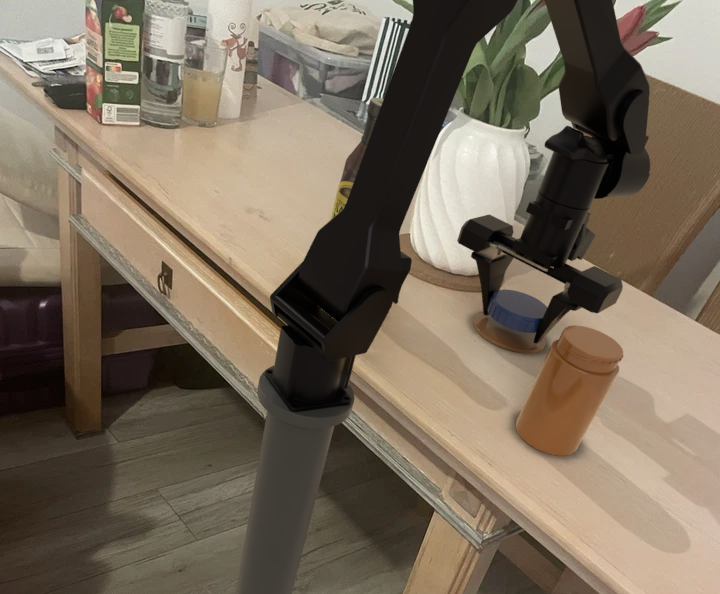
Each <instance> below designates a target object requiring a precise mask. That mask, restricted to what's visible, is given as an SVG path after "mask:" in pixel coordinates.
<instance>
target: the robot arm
mask: <svg viewBox="0 0 720 594" xmlns="http://www.w3.org/2000/svg"><path fill="white" fill-rule="evenodd" d="M518 1H519V0H412V18H411V22H410V25H409V27H408V31H407V33H406V36H405V39H404V42H403V45H402V46H401V50H400V53H399V55H398V58H397V61H396V64H395V67H394V69H393V72H392V75H391V77H390V80H389V84H388V86H387V88H386V91H385V93H384V97H383V99H384V100H383V102H382V105H381V108H380V111H379V114H378V116H377V119H376V122H375V125H374V127H373V130H372V133H371V136H370V139H369V141H368V144H367V147H366V150H365V153H364V155H363V158H362V161H361V164H360V166H359V169H358V172H357V175H356V178H355V180H354V183H353V186H352V189H351V191H350V194H349V197H348V200H347V202H346V205H345V207H344V209H343V210H342V211H340V212H339V213H338V214H337V215H336V216H335V217H334V218H332V219H331V218H330V219H331V220H330V219H329V221H327V222H326V223H325V224H324V225H323V226H322V227H320V228H319V230H317V233H316V234H315V236H314V238H313V240H312V242H311V245H310V246H309V249H308V250H307V252H306V255H305V256H304V258H303V261H301V263H300V264H298V266H296V268H295V269H294V270H293V271H292V272H291V273H290V274H289V275H288V276H287V277H286V278H285V279H284V280H283V281H282V282H281V283H280V285H278V287H277V288H275V290H274V291H273V292H272V293H271V294H270V295H269V301H270V307H271V313H272V315H274V316H275V317H276V318H278V319H280V320H281V321H282V322H283V323H284V324H286V325H281V326H280V330H279V337H278V343H277V347H276V354H275V360H274V365H273V366H274V369H268V368H266V369H264V371H265V373H264V376H265V377H266V379H267V380H268V381H269V383H270V384H271V385H272V387H273V388H274V390H275V391H276V392H277V394H278V395H279V396H280V398H281V399H282V401H283V402H284V403H285V405H286V406H287V407H288V409H289V410H290V411H292V412H302V411H309V410H316V409H323V408H330V407H338V406H345V405H350V404H351V400H352V399H351V397H350V396H349V395H348V394H347V393H346V391H345V390H344V389H345V388H347V387H348V384H349V383H350V380H351V376H352V372H353V368H354V365H355V361H356V356H359V355H362V354H366V353H368V351H369V349H370V347H371V345H372V343H373V342H374V340H375V338H376V336H377V334H378V333H379V331H380V329H381V327H382V326H383V323H384V322H385V320H386V318H387V317H388V314H389V313H390V310H391V308H392V306H393V304H395V305H396V304H398V303H399V300H400V299H399V298H400V293H401V290H402V288H403V287H402V286H403V285H404V282H405V280H406V279H407V277H408V275H409V274H410V272H411V269H412V262H413V260H412V258H411V257H410V256H408V255H407V254H405V252H403V251H401V239H400V232H401V230H402V229H401V228H402V226H403V223H404V221H405V219H406V216H407V213H408V211H409V208H410V207H411V205H412V201H413V198H414V196H415V194H416V191H417V189H418V187H419V184H420V181H421V178H422V177H423V175H424V172H425V169H426V167H427V165H428V162H429V160H430V157H431V155H432V152H433V149H434V147H435V145H436V142H437V141H438V138H439V135H440V132H441V130H442V128H443V126H444V123H445V121H446V118H447V115H448V113H449V111H450V108H451V105H452V103H453V101H454V98H455V96H456V94H457V91H458V88H459V86H460V84H461V81H462V79H463V76H464V74H465V71H466V68H467V67H468V64H469V62H470V59H471V57H472V54H473V51H474V50H475V48H476V46H477V45H478V43H479V42H481V40H482V39H484V37H486V36H487V35H488V34H489V33H490V32H491V31H492V30H493V29H494V28H496V27H497V26H498V25H499V24H500V23H501V22H502V21H503V20H504V19H505V18H507V17H508V15H510V14H511V12H513V9H514V8H515V6H516V4H517V3H518ZM544 4H545V6H546V9H547V12H548V16H549V19H550V22H551V26H552V28H553V32H554V35H555V38H556V42H557V44H558V48H559V51H560V54H561V57H562V61H563V66H564V72H563V74H562V75H561V78H560V80H559V82H558V94H559V100H560V101H559V102H560V108H561V112H562V113H561V114H562V116H563V117H564V119H565V120H567V121H569V122H570V124H571V126H570V125H566V126H564V128H563V129H562V130H560V131H559V132H557V133H555V134H553V135H551V136H550V137H548V139H547V140H545V142H544V148H545V149H547V150H550V151H551V152H552V154H551V157H550V160H549V162H548V164H547V166H546V170H545V173H544V175H543V177H542V180H541V183H540V185H539V188H538V191H537V193H536V196H535V198H534V201H529V202H528V205H527V207H526V210H525V212H526V213H528V217H527V220H526V222H525V225H524V227H523V230H522V233H521V235H520V238H515V237H513V234H514V227H513V225H512V224H510V223H508V222H506V221H504V220H502V219H499V217H498V218H497V217H495V216H494V215H492V214H485V215H481V216H478V217H473V218H470V219H468V220H466V221H465V222H464V223H463V224H462V226H461V228H460V231H459V234H458V236H457V237H458V238H457V240H456V241H457V243H458V244H459V245H461V246H463V247H465V248H466V249H469V250H470V251H472V252H471V254H470V258H471V259H473V260H474V261H475V263H476V266H477V268H476V269H477V272H478V278H479V282H480V288H481V290H480V292H481V301H482V313H484V315H486V316H487V315H489V313H488V310H487V308H488V305H489V302H490V300H491V297H492V296H493V294H494V292H496V291H498V290H501V287H502V284H503V282H504V281H503V280H504V278H505V275H506V271H507V270H508V268H509V266H510V265H511V263H512V261H514V259H515V260H517V261H519V262H521V263H523V264H525V265H527V266H528V267H530V268H533V269H534V270H537V271H538V272H541V273H543V274H544V275H547V276H548V277H551V278H552V279H555V280H556V281H558V282H560V283H562V284H564V287H563V290H562V291H561V292H558V293H556V294H554V295H552V297H551V299H550V301H549V304H548V306H547V310H546V312H545V314H544V316H543V319H542V321H541V323H540V325H539V327H538V329H537V332H536V335H535V338H534V343H536V344H537V343H538V342H540V341H541V340H542V339H543V338H544V337H545V338H546V336H547V335H548V333H550V332H551V330H552V329H553V328H554V327H555V326H556V325H557V324H558V323H559V322H560V321H561V320H562V319H563V318H564V317H565V316H566V315H567V314H568V313H569V312H570V311H573V312H576V311H578V310H580V309H584V310H586V311H588V312H589V313H592V314H600V313H602V312H603V311H605V310H607V309H609V308H610V307H611V306H614V305H615V304H617V301H618V300H619V297H620V296H621V293H622V292H623V288H624V284H623V280H622V278H620V277H618V276H616V275H614V274H612V273H609V272H608V271H606V270H604V269H601V268H600V267H598V266H595V265H593V266H591V267H589V268H586V269H585V270H580V269H578V268H576V267H573V266H572V265H570V264H568V263H567V261H570V262H573V261H576V260H577V259H578V260H580V261H582V260H583V258H584V256H585V255H586V253H587V251H588V249H589V248H590V246H591V244H592V243H593V241H594V239H595V238H596V236H597V235H596V233H594V232H593V231H592V230H591V229H589V228H588V227H587V225H588V223H589V220H590V216H591V213H590V212H589V211H590V209H591V206H592V204H593V201H594V200H600V199H602V200H603V199H615V198H628V197H631V196H634V195H635V194H637V193H639V192H640V191H641V190H642V189H643V188H644V187H645V186H646V184H647V182H648V180H649V178H650V175H651V173H650V170H651V159H650V155H649V152H648V151H647V149H646V148H645V147H646V145H647V143H648V140H649V138H650V137H649V135H647V128H648V116H649V105H650V82H649V80H648V78H647V75H646V73H645V71H644V69H643V67H642V64H641V63H640V62H639V61H638V60H637V59H636V58H635V56H633V55H632V53H631V52H630V51H629V50H627V48H626V47H625V46H624V44H623V41H622V38H621V35H620V30H619V25H618V20H617V16H616V11H615V6H614V2H613V0H544ZM585 134H586V135H585ZM349 385H350V384H349Z"/></svg>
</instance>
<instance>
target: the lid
mask: <svg viewBox="0 0 720 594" xmlns="http://www.w3.org/2000/svg"><path fill="white" fill-rule="evenodd" d="M547 308H548V306H547V305H546V304H545V303H544V302H543V301H541V300H539V298H537V297H534V296H532V295H530V294H527V293H525V292H522V291H519V290H513V289H500V290H498V291H496V292H494V294H493V296H492V297H491V300H490V302H489V305H488V308H487V310H488V313H489V315H490V316H491V317H492V318H493V319H494V320H495V321H497V322H498V323H500V324H501V325H503V326H505V327H508V328H510V329H513V330H516V331H520V332H525V333H536V332H537V329H538V327H539V325H540V323H541V321H542V319H543V316H544V314H545V312H546V310H547Z"/></svg>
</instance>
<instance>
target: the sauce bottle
mask: <svg viewBox="0 0 720 594" xmlns="http://www.w3.org/2000/svg"><path fill="white" fill-rule="evenodd" d="M383 100H384V98H381V97H371V98H370V100H369V102H368V107H367V109H366V111H367V112H366V113H367V117H366V122H365V126H364V129H363V134H362V135H361V140H360V142H359V143H358V144H357V145H356V147H355V148H354V149H353V150H352V152H350V154H349V155H348V156H347V158H346V160H345V163H344V167H343V171H342V173H341V179H340V181H339V184H338V186H337V190H336V193H335V198H334V201H333V207H332V210H331V215H330V219H329V221H330V220H331V219H332V218H334V217H335V216H336V215H337V214H338V213H339V212H340V211H342V210H343V209H344V207H345V205H346V202H347V200H348V197H349V194H350V191H351V189H352V186H353V183H354V180H355V178H356V175H357V172H358V169H359V166H360V164H361V161H362V158H363V155H364V153H365V150H366V147H367V144H368V141H369V139H370V136H371V133H372V130H373V127H374V125H375V122H376V119H377V116H378V114H379V111H380V108H381V105H382V102H383Z"/></svg>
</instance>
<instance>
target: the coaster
mask: <svg viewBox="0 0 720 594" xmlns="http://www.w3.org/2000/svg"><path fill="white" fill-rule="evenodd" d="M473 327H474V329H475V331H476V332H477V334H479V336H481V337H482V338H483V339H484V340H486V341H487V342H489V343H491V344H493V345H495V346H497V347H499V348H502V349H504V350H507V351H511V352H514V353H520V354H535V353H539V352H540V351H542V350H543V349H544V348H545V346H546V343H547V340H546V339H547V338H546V336H545V337H544V338H543V339H542V340H541V341H540V342H538V343H537V344H536V343H534V338H535V335H536V333H525V332H520V331H516V330H513V329H510V328H508V327H505V326H503V325H501V324H500V323H498V322H497V321H495V320H494V319H493V318H492V317H491V316H490V315H487V316H486V315H484V313H483V312H480V313H478V314H477V315H476V316H475V317H474V319H473Z"/></svg>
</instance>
